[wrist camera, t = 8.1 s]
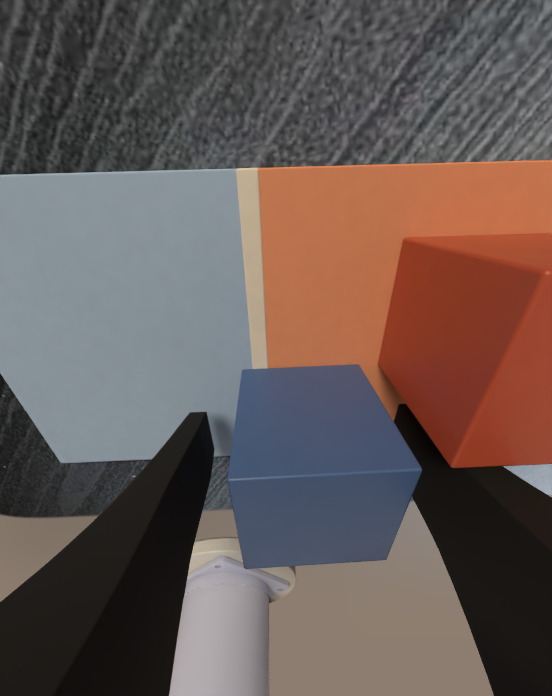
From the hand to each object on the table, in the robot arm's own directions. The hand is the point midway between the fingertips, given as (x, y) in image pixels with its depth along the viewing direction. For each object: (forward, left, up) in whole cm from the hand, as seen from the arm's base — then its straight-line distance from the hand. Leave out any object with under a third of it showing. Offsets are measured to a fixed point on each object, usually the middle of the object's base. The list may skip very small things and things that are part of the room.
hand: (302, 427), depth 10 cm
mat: (+1, +3, -1) cm, 3 cm away
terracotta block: (+7, 0, -1) cm, 7 cm away
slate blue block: (0, 0, -1) cm, 1 cm away
